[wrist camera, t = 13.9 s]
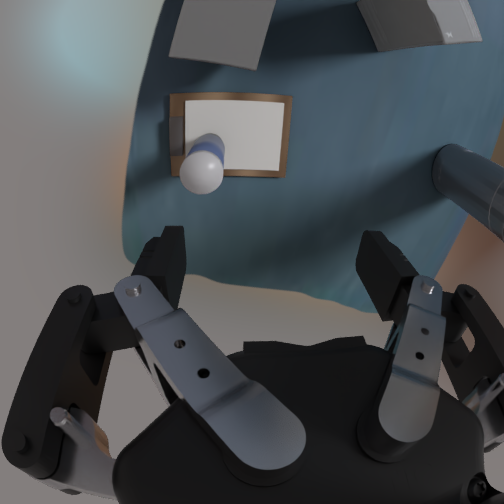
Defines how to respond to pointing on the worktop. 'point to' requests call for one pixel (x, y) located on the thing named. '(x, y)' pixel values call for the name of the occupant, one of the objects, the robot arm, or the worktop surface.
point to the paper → (238, 130)
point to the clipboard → (179, 99)
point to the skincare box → (419, 23)
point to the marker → (204, 165)
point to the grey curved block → (222, 31)
